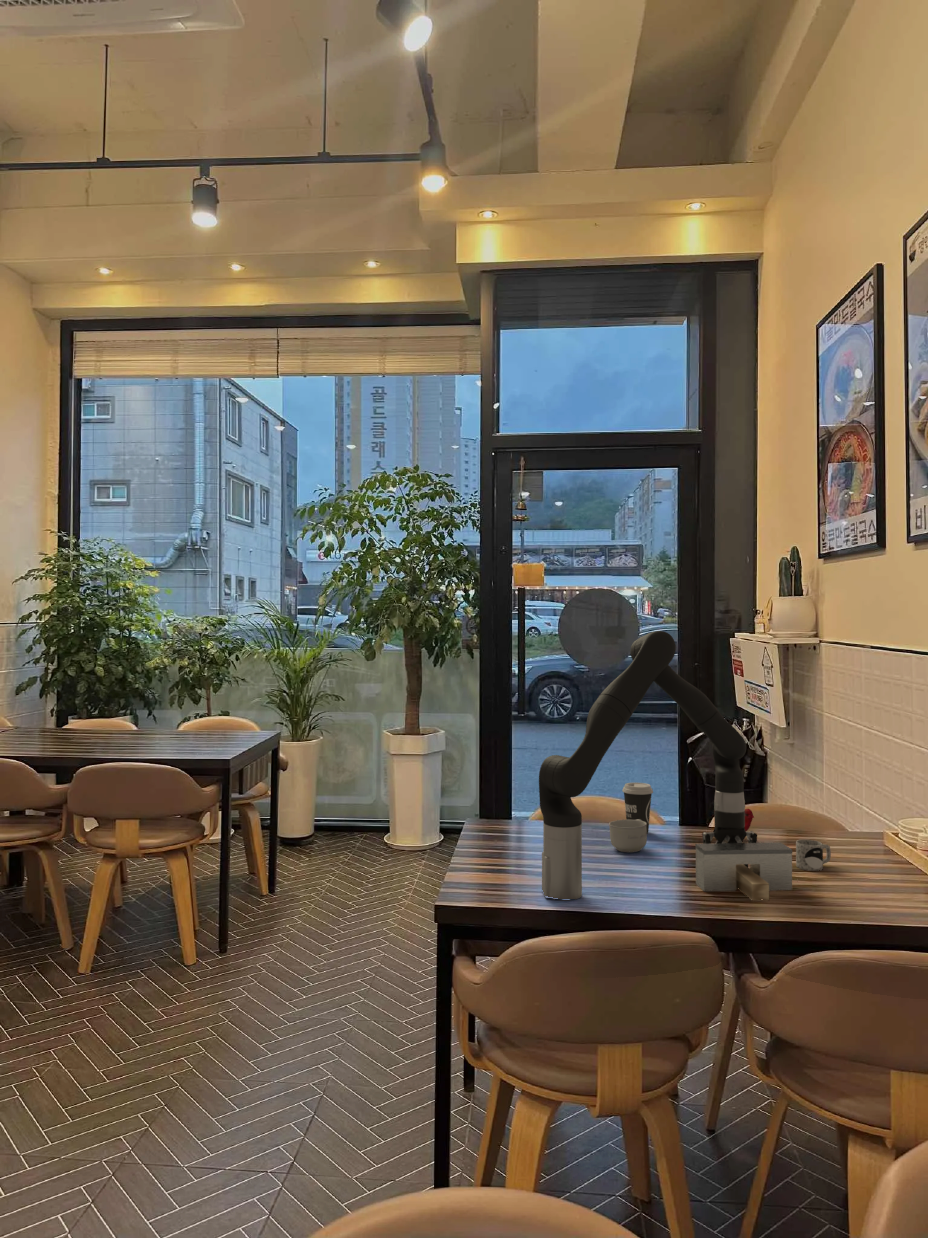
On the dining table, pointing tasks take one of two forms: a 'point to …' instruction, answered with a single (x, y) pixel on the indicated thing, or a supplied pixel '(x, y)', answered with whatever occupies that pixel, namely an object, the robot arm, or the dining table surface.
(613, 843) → the teacup
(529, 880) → the dining table surface
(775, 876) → the block
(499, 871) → the dining table surface
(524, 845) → the dining table surface
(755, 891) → the bar
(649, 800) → the coffee cup
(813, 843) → the mug
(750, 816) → the decorative bird figurine
